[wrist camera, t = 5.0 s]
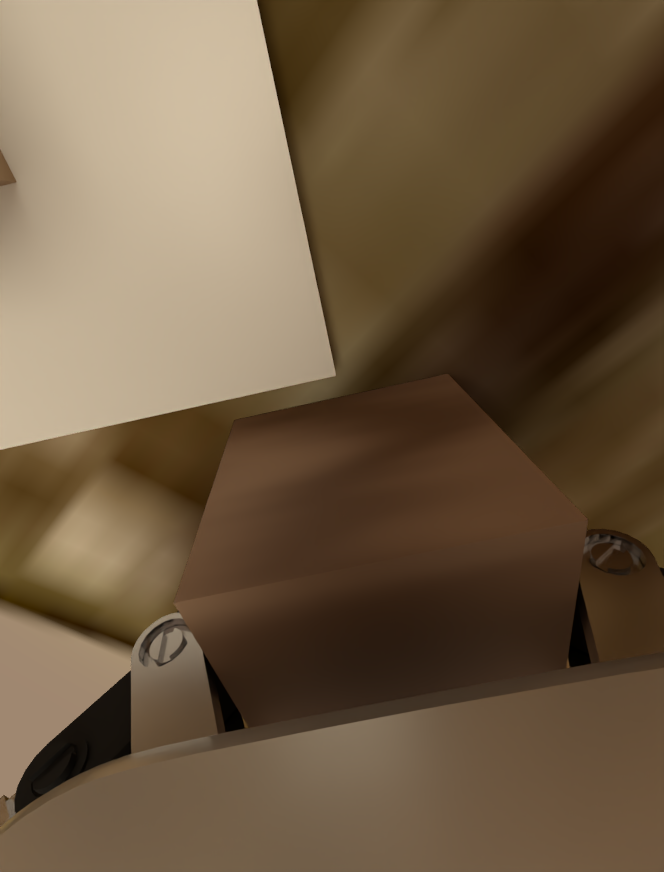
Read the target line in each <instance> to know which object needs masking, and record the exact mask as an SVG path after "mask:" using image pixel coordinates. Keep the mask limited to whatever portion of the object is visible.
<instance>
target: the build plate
mask: <svg viewBox="0 0 664 872" xmlns="http://www.w3.org/2000/svg"><path fill="white" fill-rule="evenodd" d="M0 150H1V152H2V154H3V156H4V158H5V160H6V162H7V164H8V166H9V168H10V170H11V172H12V174H13V176H14V177H15V179H16V181H17V182H16V183H11V184H7V185H3V186H0V450H1V449H6V448H10V447H15V446H19V445H24V444H28V443H33V442H38V441H42V440H47V439H51V438H56V437H60V436H65V435H69V434H74V433H79V432H83V431H88V430H92V429H97V428H101V427H106V426H110V425H115V424H120V423H124V422H129V421H133V420H138V419H142V418H147V417H151V416H156V415H160V414H165V413H170V412H174V411H179V410H183V409H188V408H192V407H197V406H201V405H206V404H211V403H215V402H220V401H224V400H229V399H233V398H238V397H242V396H247V395H252V394H256V393H261V392H265V391H270V390H274V389H279V388H283V387H288V386H293V385H297V384H302V383H306V382H311V381H315V380H320V379H324V378H329V377H333V376H336V373H335V368H334V363H333V358H332V354H331V349H330V344H329V339H328V335H327V330H326V325H325V321H324V316H323V311H322V306H321V302H320V297H319V292H318V287H317V283H316V278H315V273H314V269H313V264H312V259H311V254H310V250H309V245H308V240H307V235H306V231H305V226H304V221H303V216H302V212H301V207H300V202H299V198H298V193H297V188H296V183H295V179H294V174H293V169H292V164H291V160H290V155H289V150H288V146H287V141H286V136H285V131H284V127H283V122H282V117H281V112H280V108H279V103H278V98H277V94H276V89H275V84H274V79H273V75H272V70H271V65H270V60H269V56H268V51H267V46H266V41H265V37H264V32H263V27H262V23H261V18H260V13H259V8H258V4H257V0H0Z"/></svg>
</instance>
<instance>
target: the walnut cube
mask: <svg viewBox="0 0 664 872" xmlns="http://www.w3.org/2000/svg"><path fill="white" fill-rule="evenodd" d="M587 524H588V519H587V518H586V517H585V516H584V515H583V514H582V513H581V512H580V511H579V510H578V509H577V508H576V506H575V505H574V504H573V503H572V502H571V501H570V500H569V499H568V498H567V497H566V496H565V495H564V494H563V493H562V492H561V491H560V490H559V489H558V488H557V487H556V486H555V485H554V484H553V483H552V482H551V480H550V479H549V478H548V477H547V476H546V475H545V474H544V473H543V472H542V471H541V470H540V469H539V468H538V467H537V466H536V465H535V464H534V463H533V462H532V461H531V460H530V459H529V458H528V457H527V456H526V454H525V453H524V452H523V451H522V450H521V449H520V448H519V447H518V446H517V445H516V444H515V443H514V442H513V441H512V440H511V439H510V438H509V437H508V436H507V435H506V434H505V433H504V432H503V431H502V430H501V428H500V427H499V426H498V425H497V424H496V423H495V422H494V421H493V420H492V419H491V418H490V417H489V416H488V415H487V414H486V413H485V412H484V411H483V410H482V409H481V408H480V407H479V406H478V405H477V403H476V402H475V401H474V400H473V399H472V398H471V397H470V396H469V395H468V394H467V393H466V392H465V391H464V390H463V389H462V388H461V387H460V386H459V385H458V384H457V383H456V382H455V381H454V380H453V379H452V377H451V376H450V375H449V374H444V375H439V376H434V377H430V378H425V379H421V380H416V381H412V382H407V383H402V384H398V385H393V386H389V387H384V388H379V389H375V390H370V391H366V392H361V393H356V394H352V395H347V396H343V397H338V398H333V399H329V400H324V401H320V402H315V403H310V404H306V405H301V406H297V407H292V408H288V409H283V410H278V411H274V412H269V413H265V414H260V415H255V416H251V417H246V418H242V419H237V420H234V423H233V426H232V429H231V432H230V435H229V438H228V441H227V444H226V447H225V450H224V453H223V456H222V459H221V462H220V465H219V468H218V471H217V474H216V477H215V480H214V483H213V486H212V489H211V492H210V495H209V498H208V501H207V504H206V507H205V510H204V513H203V516H202V519H201V522H200V525H199V528H198V531H197V534H196V537H195V540H194V543H193V546H192V549H191V552H190V555H189V558H188V561H187V564H186V567H185V570H184V573H183V576H182V579H181V582H180V585H179V588H178V591H177V594H176V597H175V600H174V605H175V606H176V608H177V610H178V611H179V613H180V615H181V616H182V618H183V620H184V621H185V623H186V624H187V626H188V628H189V629H190V631H191V633H192V634H193V636H194V638H195V639H196V641H197V643H198V644H199V646H200V648H201V649H202V651H203V652H204V654H205V656H206V657H207V659H208V661H209V662H210V664H211V666H212V667H213V669H214V671H215V672H216V674H217V676H218V677H219V679H220V681H221V682H222V684H223V685H224V687H225V689H226V690H227V692H228V694H229V695H230V697H231V699H232V700H233V702H234V704H235V705H236V707H237V709H238V710H239V712H240V713H241V715H242V717H243V718H244V720H245V722H246V723H247V725H248V727H249V728H251V727H256V726H262V725H267V724H272V723H277V722H282V721H287V720H293V719H298V718H303V717H308V716H313V715H318V714H324V713H329V712H334V711H339V710H344V709H350V708H355V707H360V706H366V705H371V704H376V703H382V702H387V701H392V700H397V699H403V698H408V697H413V696H419V695H424V694H429V693H435V692H440V691H446V690H451V689H456V688H462V687H467V686H472V685H478V684H483V683H489V682H494V681H500V680H505V679H511V678H516V677H522V676H527V675H533V674H538V673H544V672H549V671H555V670H560V669H566V666H567V660H568V653H569V646H570V639H571V632H572V626H573V619H574V612H575V605H576V599H577V592H578V585H579V578H580V571H581V565H582V558H583V551H584V544H585V538H586V531H587Z"/></svg>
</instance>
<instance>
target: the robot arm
mask: <svg viewBox="0 0 664 872" xmlns="http://www.w3.org/2000/svg"><path fill="white" fill-rule="evenodd" d="M0 872H664V569H663V568H660V567H659V566H658V564H657V562H656V560H655V558H654V556H653V554H652V553H651V552H650V550H649V549H648V548H647V547H646V546H645V545H644V544H642V543H641V542H640V541H639V540H637V539H635V538H633V537H631V536H629V535H627V534H624V533H621V532H618V531H613V530H607V529H591V530H588V531H586V538H585V544H584V551H583V558H582V565H581V571H580V578H579V585H578V592H577V599H576V605H575V612H574V619H573V626H572V632H571V639H570V646H569V653H568V660H567V666H566V669H560V670H555V671H549V672H544V673H538V674H533V675H527V676H522V677H516V678H511V679H505V680H500V681H494V682H489V683H483V684H478V685H472V686H467V687H462V688H456V689H451V690H446V691H440V692H435V693H429V694H424V695H419V696H413V697H408V698H403V699H397V700H392V701H387V702H382V703H376V704H371V705H366V706H360V707H355V708H350V709H344V710H339V711H334V712H329V713H324V714H318V715H313V716H308V717H303V718H298V719H293V720H287V721H282V722H277V723H272V724H267V725H262V726H256V727H251V728H249V727H248V725H247V723H246V722H245V720H244V718H243V717H242V715H241V713H240V712H239V710H238V709H237V707H236V705H235V704H234V702H233V700H232V699H231V697H230V695H229V694H228V692H227V690H226V689H225V687H224V685H223V684H222V682H221V681H220V679H219V677H218V676H217V674H216V672H215V671H214V669H213V667H212V666H211V664H210V662H209V661H208V659H207V657H206V656H205V654H204V652H203V651H202V649H201V648H200V646H199V644H198V643H197V641H196V639H195V638H194V636H193V634H192V633H191V631H190V629H189V628H188V626H187V624H186V623H185V621H184V620H183V618H182V616H181V615H180V613H179V611H178V612H177V613H172V614H169V615H167V616H164V617H162V618H160V619H159V620H157V621H156V622H154V623H153V624H151V625H150V626H149V627H148V628H147V629H146V630H145V631H144V632H143V633H142V635H141V636H140V637H139V639H138V640H137V642H136V644H135V646H134V648H133V650H132V656H131V671H130V672H128V673H127V674H126V675H125V676H124V677H123V678H122V679H120V680H119V681H118V682H117V683H116V684H115V685H114V686H113V687H112V688H110V689H109V690H108V691H107V692H106V693H105V694H103V695H102V696H101V697H100V698H99V699H98V700H97V701H96V702H94V703H93V704H92V705H91V706H90V707H89V708H88V709H87V710H86V711H84V712H83V713H82V714H81V715H80V716H79V717H78V718H76V719H75V720H74V721H73V722H72V723H71V724H70V725H69V726H67V727H66V728H65V729H64V730H63V731H62V732H61V733H60V734H59V735H57V736H56V737H55V738H54V739H53V740H52V741H50V742H49V743H48V744H47V745H46V746H45V747H44V748H43V749H42V750H41V751H40V752H39V754H37V755H36V757H35V758H34V759H33V761H32V762H31V763H30V765H29V766H28V768H27V769H26V771H25V772H24V774H23V777H22V778H21V780H20V782H19V784H18V787H17V791H16V793H15V794H14V795H13V796H12V797H11V798H7V797H6V796H5V795H3V796H2V797H1V798H0Z"/></svg>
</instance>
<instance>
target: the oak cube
mask: <svg viewBox="0 0 664 872" xmlns="http://www.w3.org/2000/svg"><path fill="white" fill-rule="evenodd" d="M16 182H17V181H16V179H15V177H14V176H13V174H12V172H11V170H10V168H9V166H8V164H7V162H6V160H5V158H4V156H3V154H2V152H1V150H0V186H3V185H7V184H11V183H16Z"/></svg>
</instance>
